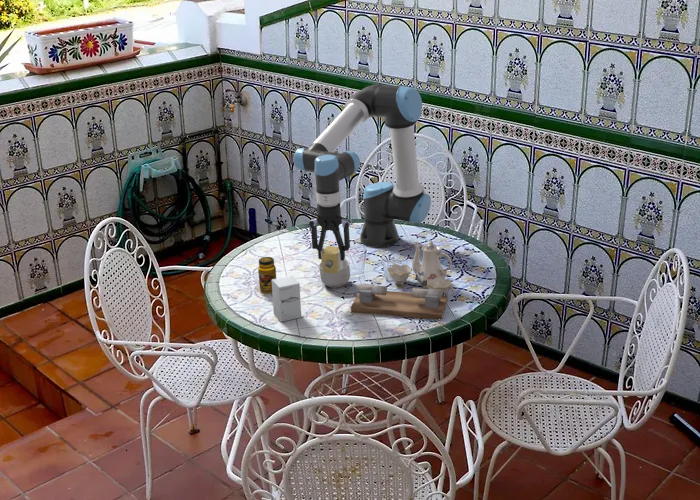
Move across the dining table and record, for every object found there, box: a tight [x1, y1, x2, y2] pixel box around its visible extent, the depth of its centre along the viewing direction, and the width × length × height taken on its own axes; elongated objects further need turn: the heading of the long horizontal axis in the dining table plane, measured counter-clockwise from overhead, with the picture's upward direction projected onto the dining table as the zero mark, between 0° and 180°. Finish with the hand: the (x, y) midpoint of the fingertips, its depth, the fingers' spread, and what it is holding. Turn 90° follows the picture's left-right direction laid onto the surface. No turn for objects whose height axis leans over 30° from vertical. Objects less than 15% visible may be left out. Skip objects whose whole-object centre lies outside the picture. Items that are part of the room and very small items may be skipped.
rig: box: [350, 283, 449, 321], centre depth 279 cm, size 14×30×7 cm, turn 76°
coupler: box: [322, 245, 339, 274], centre depth 280 cm, size 5×8×7 cm, turn 166°
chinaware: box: [386, 240, 455, 297], centre depth 292 cm, size 28×17×17 cm, turn 52°
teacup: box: [318, 258, 351, 288], centre depth 299 cm, size 14×11×8 cm
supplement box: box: [271, 275, 302, 323], centre depth 275 cm, size 7×7×13 cm
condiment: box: [254, 256, 277, 297], centre depth 294 cm, size 7×8×12 cm
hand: (332, 268), depth 282 cm, fingers closed on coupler, 5 cm apart
